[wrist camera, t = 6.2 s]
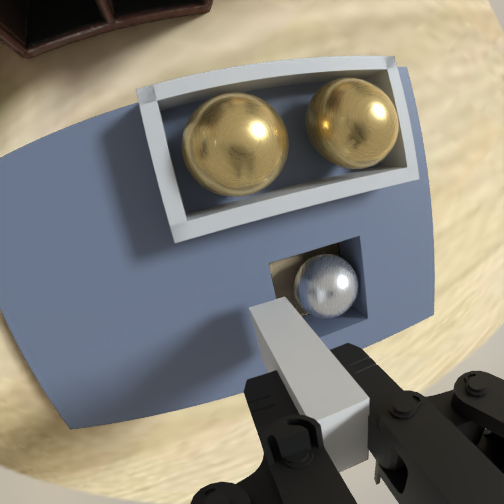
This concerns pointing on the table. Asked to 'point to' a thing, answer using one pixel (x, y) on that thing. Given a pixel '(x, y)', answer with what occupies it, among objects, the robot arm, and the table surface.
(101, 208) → the deck
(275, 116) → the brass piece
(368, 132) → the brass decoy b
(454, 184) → the table surface
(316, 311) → the steel ball
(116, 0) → the letter holder
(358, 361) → the robot arm
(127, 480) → the table surface
